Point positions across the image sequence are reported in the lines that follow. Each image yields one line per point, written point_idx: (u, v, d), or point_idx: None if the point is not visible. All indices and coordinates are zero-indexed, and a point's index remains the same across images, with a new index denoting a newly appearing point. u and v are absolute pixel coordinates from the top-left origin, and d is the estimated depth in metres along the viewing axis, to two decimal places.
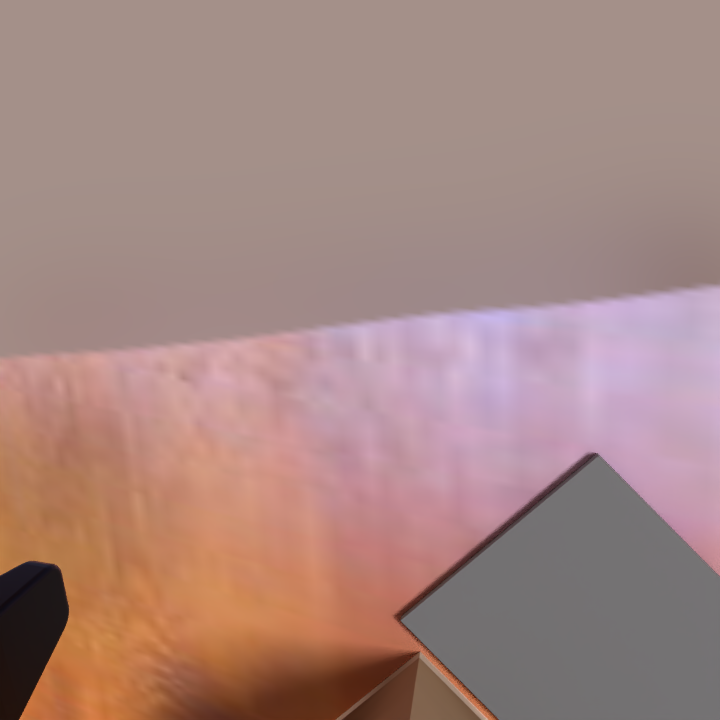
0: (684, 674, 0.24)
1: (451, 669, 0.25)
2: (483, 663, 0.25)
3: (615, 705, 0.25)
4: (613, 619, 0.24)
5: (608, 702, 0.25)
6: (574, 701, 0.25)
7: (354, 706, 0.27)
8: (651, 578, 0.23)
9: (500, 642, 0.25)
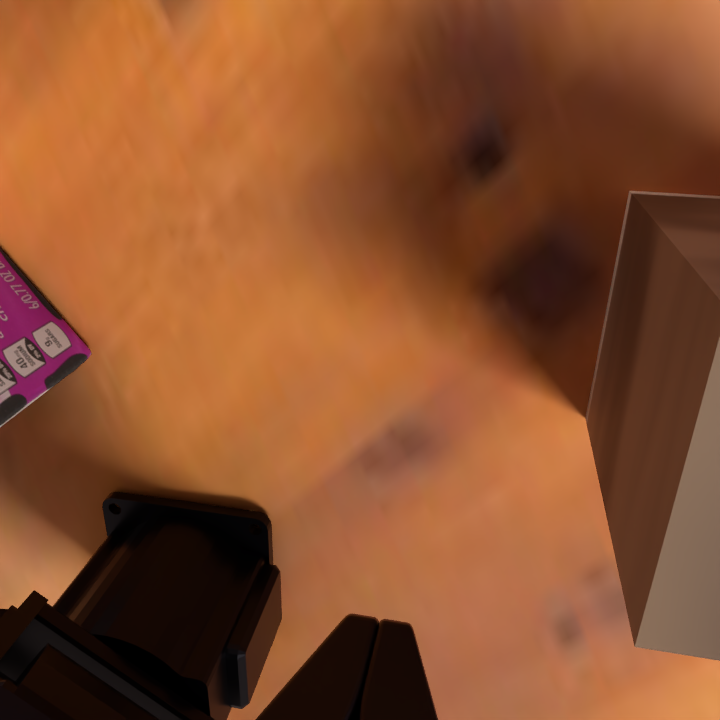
0: None
1: None
2: None
3: None
4: None
5: None
6: None
7: (687, 195, 0.18)
8: None
9: None
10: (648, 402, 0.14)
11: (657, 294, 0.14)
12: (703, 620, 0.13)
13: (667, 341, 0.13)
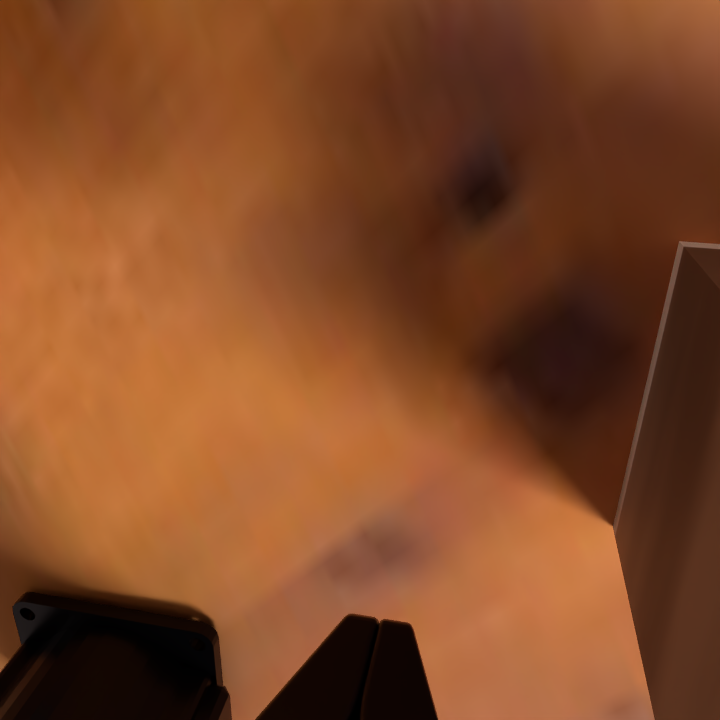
0: None
1: None
2: None
3: None
4: None
5: None
6: None
7: None
8: None
9: None
10: None
11: None
12: None
13: None
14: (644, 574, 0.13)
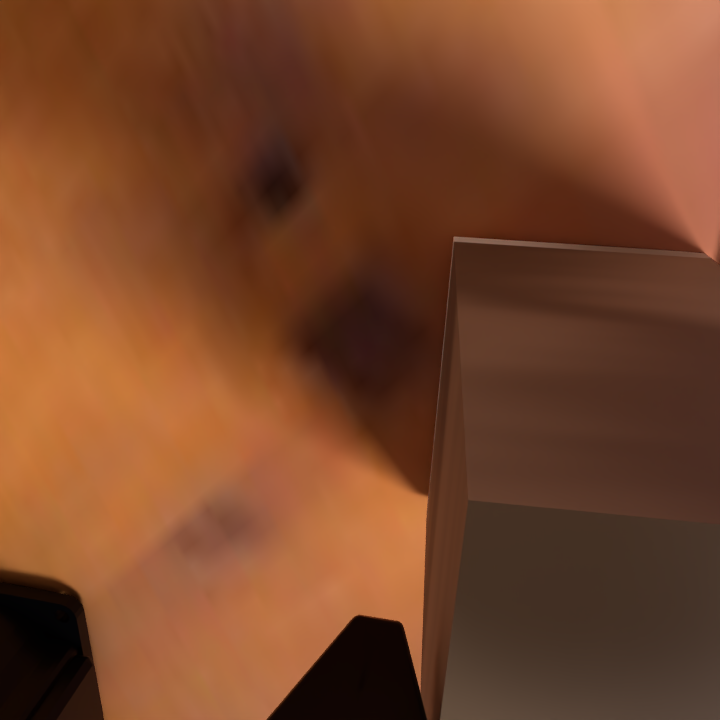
0: None
1: None
2: None
3: None
4: None
5: None
6: None
7: (524, 243, 0.14)
8: None
9: None
10: (438, 558, 0.10)
11: (451, 402, 0.10)
12: None
13: (449, 484, 0.09)
14: (428, 553, 0.14)
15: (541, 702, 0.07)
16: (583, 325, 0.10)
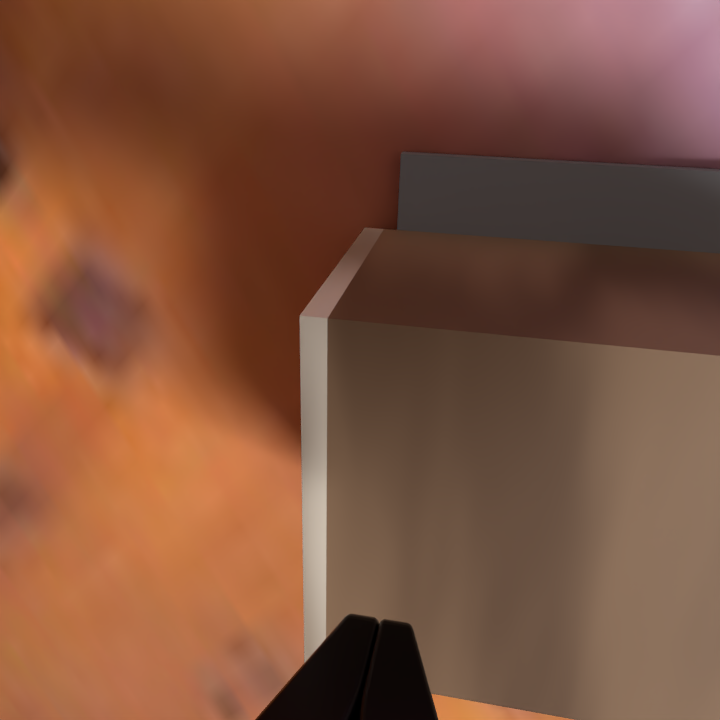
0: None
1: None
2: None
3: None
4: None
5: None
6: None
7: (335, 283, 0.11)
8: None
9: None
10: (715, 556, 0.10)
11: (662, 430, 0.09)
12: None
13: None
14: (471, 652, 0.12)
15: None
16: (619, 300, 0.10)
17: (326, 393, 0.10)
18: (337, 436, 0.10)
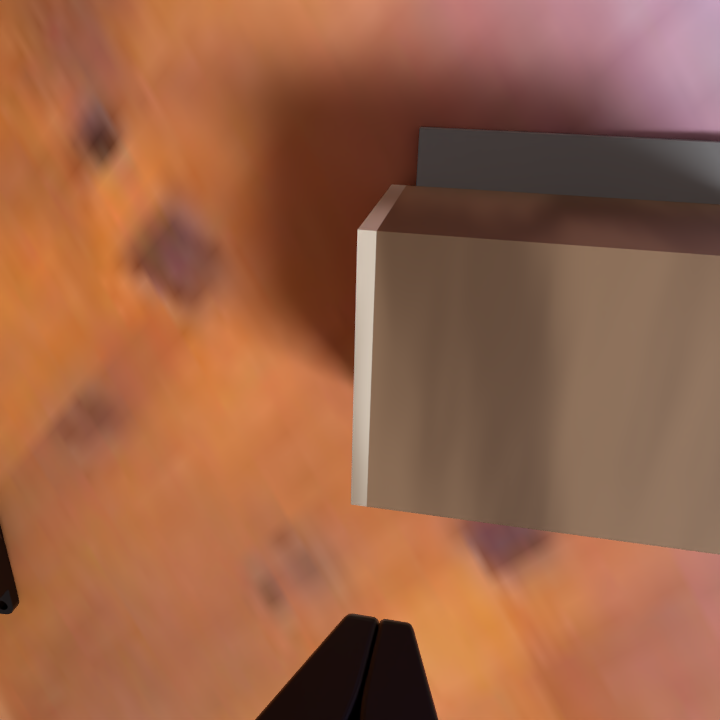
0: None
1: None
2: None
3: None
4: None
5: None
6: None
7: (377, 214, 0.15)
8: None
9: None
10: (639, 395, 0.15)
11: (600, 303, 0.14)
12: None
13: (668, 330, 0.14)
14: (472, 481, 0.16)
15: None
16: (575, 224, 0.15)
17: (374, 285, 0.15)
18: (380, 317, 0.15)
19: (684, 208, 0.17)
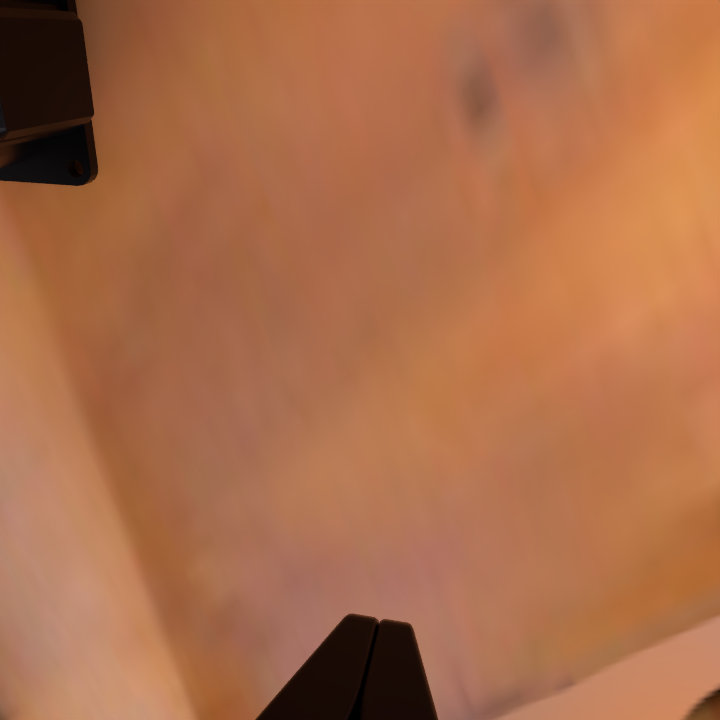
0: None
1: None
2: None
3: None
4: None
5: None
6: None
7: None
8: None
9: None
10: None
11: None
12: None
13: None
14: None
15: None
16: None
17: None
18: None
19: None
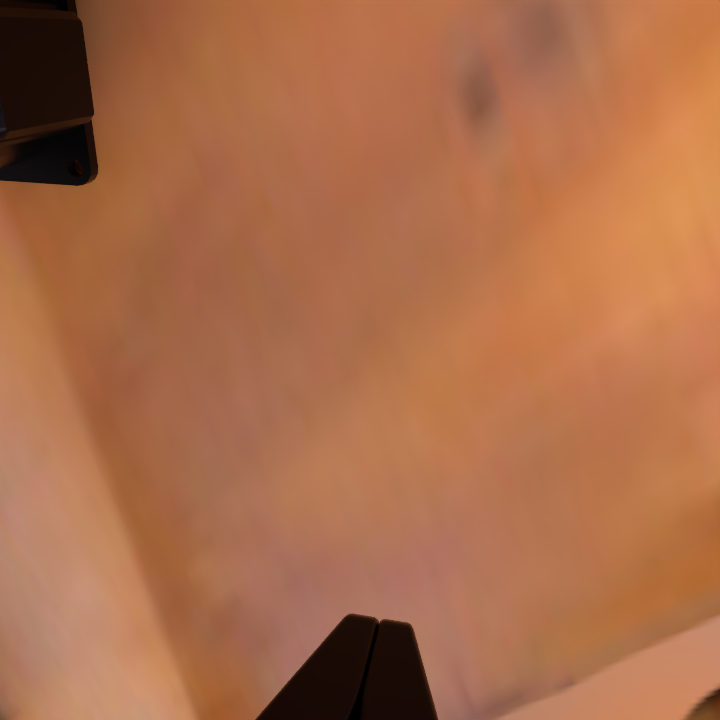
0: None
1: None
2: None
3: None
4: None
5: None
6: None
7: None
8: None
9: None
10: None
11: None
12: None
13: None
14: None
15: None
16: None
17: None
18: None
19: None
